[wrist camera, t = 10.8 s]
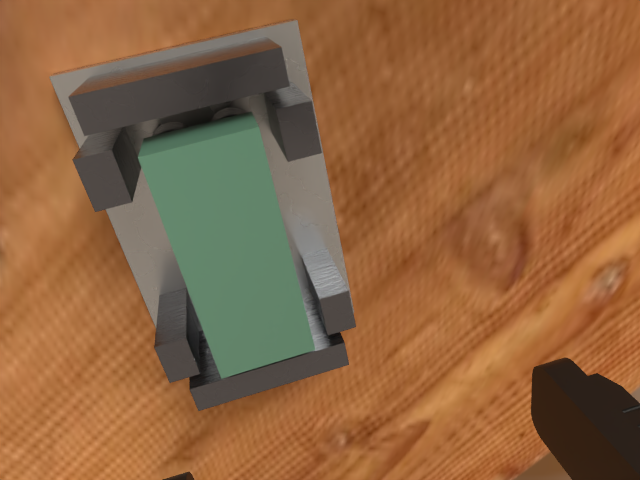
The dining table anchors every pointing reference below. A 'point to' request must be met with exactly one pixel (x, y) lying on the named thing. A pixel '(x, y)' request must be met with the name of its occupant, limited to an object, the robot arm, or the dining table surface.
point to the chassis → (285, 166)
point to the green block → (229, 240)
